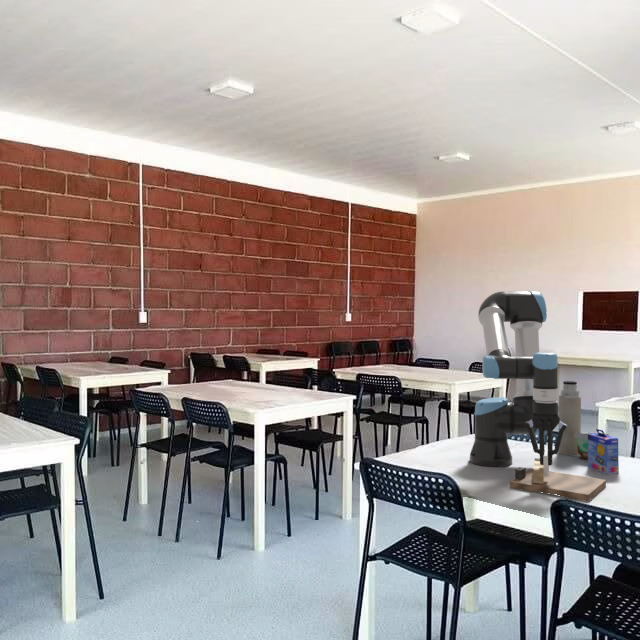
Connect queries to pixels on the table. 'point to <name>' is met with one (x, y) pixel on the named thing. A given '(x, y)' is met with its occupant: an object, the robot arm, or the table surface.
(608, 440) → the ink cartridge box
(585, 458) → the food container
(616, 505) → the table surface
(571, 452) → the thermos bottle
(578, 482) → the board
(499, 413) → the robot arm
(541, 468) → the stool leg
